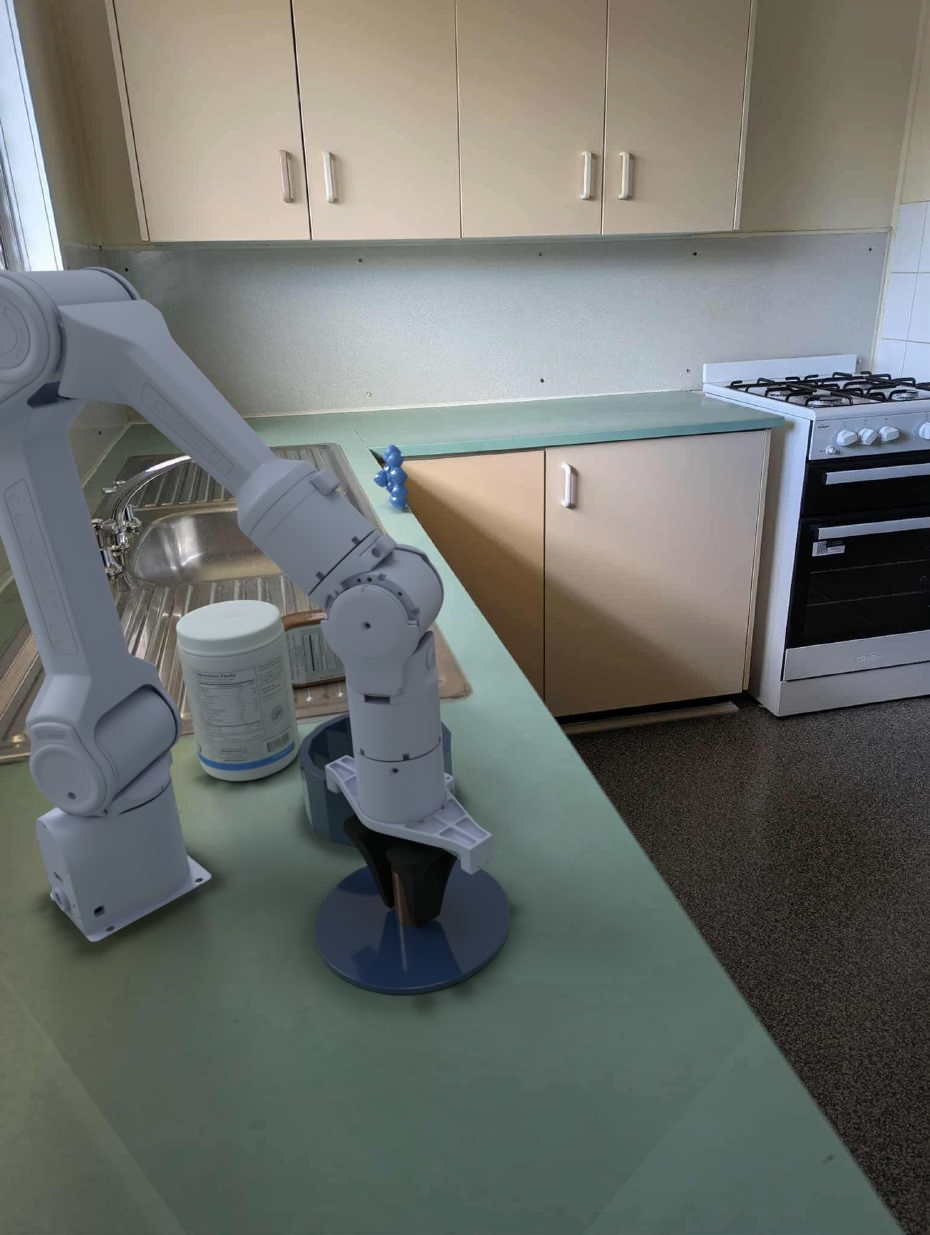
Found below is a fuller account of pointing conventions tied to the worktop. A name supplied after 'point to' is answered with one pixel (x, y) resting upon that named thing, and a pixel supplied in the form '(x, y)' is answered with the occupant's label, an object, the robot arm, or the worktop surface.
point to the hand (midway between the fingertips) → (412, 909)
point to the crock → (321, 802)
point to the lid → (411, 933)
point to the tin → (310, 650)
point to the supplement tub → (239, 688)
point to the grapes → (393, 477)
